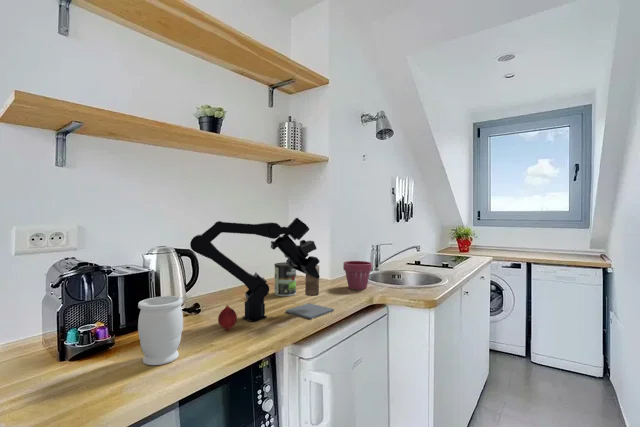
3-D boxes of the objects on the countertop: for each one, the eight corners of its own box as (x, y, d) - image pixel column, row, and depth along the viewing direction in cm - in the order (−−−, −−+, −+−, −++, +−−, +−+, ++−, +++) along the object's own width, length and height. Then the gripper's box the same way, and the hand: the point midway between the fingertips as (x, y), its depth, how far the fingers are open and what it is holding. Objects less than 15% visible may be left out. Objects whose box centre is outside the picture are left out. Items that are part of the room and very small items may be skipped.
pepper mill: (312, 296, 121) (313, 262, 121) (302, 294, 124) (303, 260, 125) (321, 294, 125) (322, 260, 125) (311, 292, 128) (312, 259, 129)
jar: (132, 358, 83) (132, 300, 83) (174, 347, 91) (173, 293, 91) (145, 372, 76) (145, 308, 76) (189, 358, 83) (189, 300, 83)
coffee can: (301, 293, 153) (300, 263, 153) (285, 297, 144) (285, 266, 145) (285, 290, 159) (284, 261, 159) (269, 294, 151) (269, 264, 151)
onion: (240, 328, 105) (240, 304, 105) (227, 334, 100) (227, 308, 100) (227, 325, 108) (227, 301, 108) (214, 331, 103) (214, 306, 103)
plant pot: (368, 284, 171) (368, 260, 171) (374, 290, 157) (374, 264, 157) (341, 285, 170) (341, 260, 170) (345, 291, 156) (345, 264, 156)
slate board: (311, 319, 114) (311, 317, 114) (285, 312, 122) (285, 310, 123) (333, 311, 124) (333, 309, 124) (309, 305, 132) (309, 303, 132)
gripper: (315, 234, 115) (340, 264, 120) (294, 232, 131) (317, 258, 136) (294, 257, 111) (321, 287, 116) (275, 252, 128) (300, 278, 133)
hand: (315, 276), depth 125 cm, fingers closed on pepper mill, 5 cm apart
